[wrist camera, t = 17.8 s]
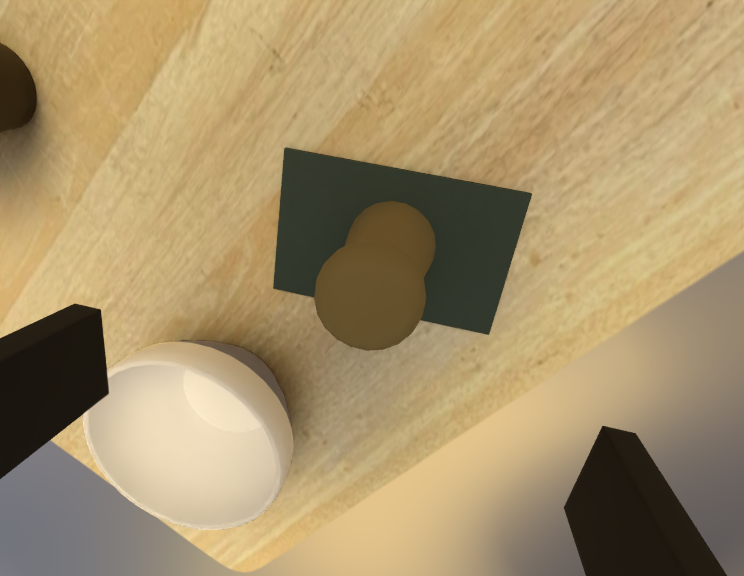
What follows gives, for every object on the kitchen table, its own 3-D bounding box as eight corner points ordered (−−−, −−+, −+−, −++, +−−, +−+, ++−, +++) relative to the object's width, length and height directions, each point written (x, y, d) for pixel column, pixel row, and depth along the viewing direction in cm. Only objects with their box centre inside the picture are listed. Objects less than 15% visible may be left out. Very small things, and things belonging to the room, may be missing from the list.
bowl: (146, 425, 37) (79, 492, 30) (159, 285, 32) (80, 327, 25) (295, 477, 37) (262, 557, 30) (334, 343, 32) (304, 403, 24)
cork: (422, 189, 26) (412, 224, 16) (446, 275, 28) (450, 357, 18) (335, 215, 28) (275, 263, 17) (363, 296, 29) (323, 382, 19)
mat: (530, 192, 26) (532, 193, 25) (488, 332, 29) (488, 334, 29) (286, 147, 27) (284, 147, 27) (275, 286, 31) (272, 288, 30)
